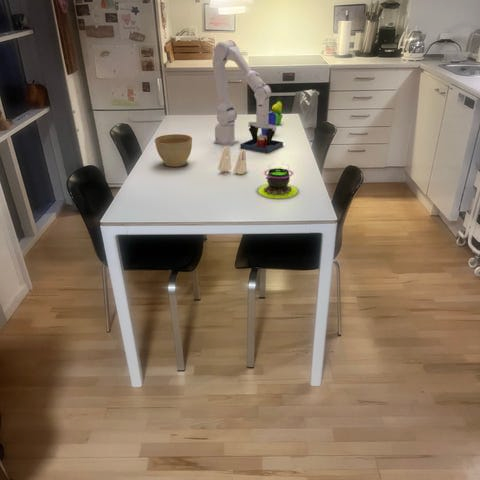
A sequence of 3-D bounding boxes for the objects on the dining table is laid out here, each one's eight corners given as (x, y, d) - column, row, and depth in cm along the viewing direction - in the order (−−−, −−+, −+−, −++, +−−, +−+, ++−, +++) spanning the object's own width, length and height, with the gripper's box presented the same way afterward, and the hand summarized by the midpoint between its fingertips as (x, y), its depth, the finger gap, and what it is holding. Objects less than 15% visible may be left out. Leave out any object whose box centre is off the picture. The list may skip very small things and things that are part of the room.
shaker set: (217, 173, 200) (216, 146, 193) (219, 170, 203) (218, 144, 197) (245, 175, 198) (245, 148, 192) (246, 171, 202) (247, 145, 195)
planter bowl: (198, 159, 216) (197, 135, 209) (185, 171, 203) (184, 145, 197) (165, 157, 219) (163, 132, 213) (151, 168, 206) (148, 142, 200)
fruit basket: (263, 121, 273) (263, 100, 267) (277, 120, 275) (278, 99, 269) (270, 126, 264) (270, 104, 258) (284, 125, 266) (285, 103, 260)
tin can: (255, 147, 230) (255, 136, 227) (260, 145, 233) (260, 134, 230) (263, 149, 228) (263, 138, 225) (268, 146, 231) (268, 136, 228)
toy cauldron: (273, 181, 192) (274, 154, 185) (304, 190, 184) (307, 161, 177) (250, 192, 182) (250, 163, 176) (282, 201, 175) (283, 171, 168)
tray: (240, 148, 229) (240, 144, 228) (256, 142, 239) (256, 137, 237) (267, 154, 222) (267, 149, 221) (282, 146, 232) (283, 141, 230)
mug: (276, 130, 256) (277, 111, 250) (275, 136, 246) (276, 116, 241) (261, 130, 257) (261, 110, 251) (259, 136, 247) (260, 116, 241)
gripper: (280, 114, 221) (279, 144, 229) (254, 110, 228) (253, 140, 235) (272, 117, 216) (271, 148, 224) (245, 113, 223) (245, 143, 231)
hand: (261, 144), depth 229 cm, fingers open, 7 cm apart
